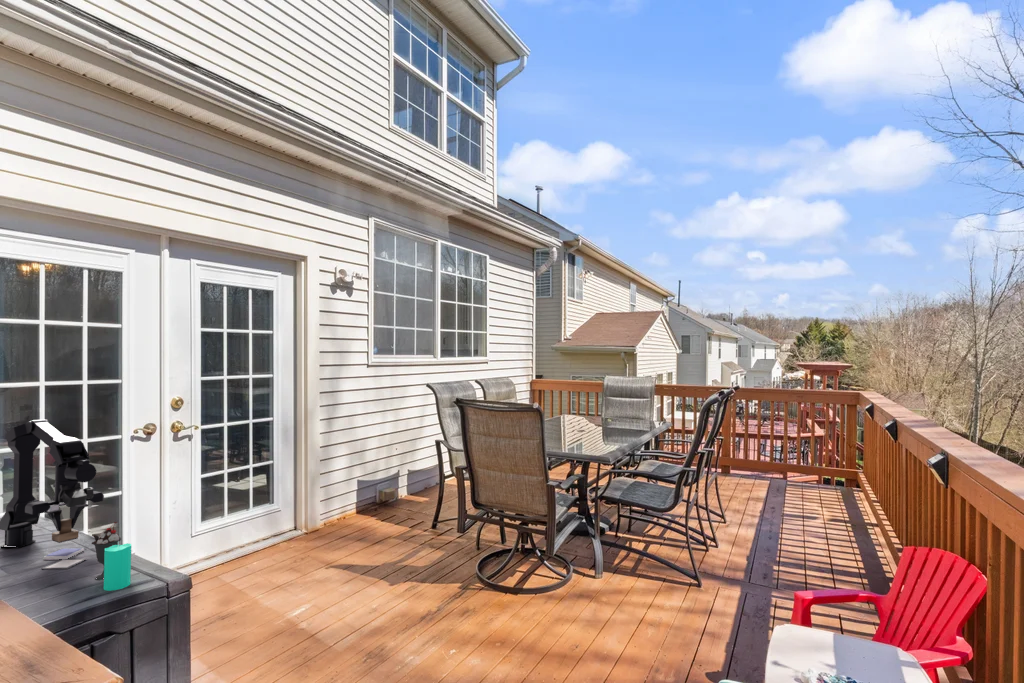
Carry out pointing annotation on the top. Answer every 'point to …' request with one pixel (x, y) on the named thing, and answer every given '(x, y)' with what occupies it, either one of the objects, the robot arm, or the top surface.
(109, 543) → the sundae
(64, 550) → the ink pad
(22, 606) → the top surface
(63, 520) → the stamp
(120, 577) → the candle
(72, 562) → the marked card
